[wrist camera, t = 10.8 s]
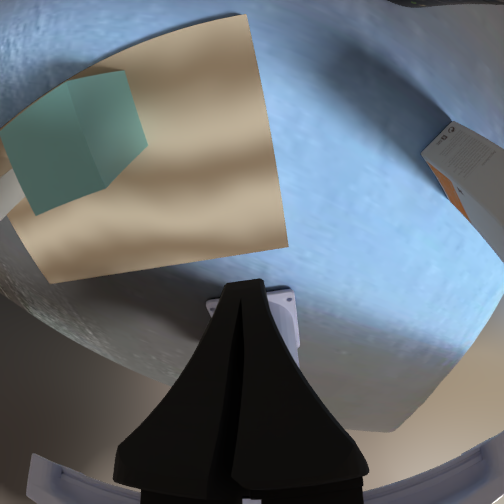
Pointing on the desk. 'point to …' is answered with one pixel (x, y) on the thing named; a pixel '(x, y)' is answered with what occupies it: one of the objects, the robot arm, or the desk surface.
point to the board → (173, 165)
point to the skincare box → (471, 179)
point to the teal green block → (74, 140)
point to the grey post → (9, 193)
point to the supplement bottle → (442, 2)
